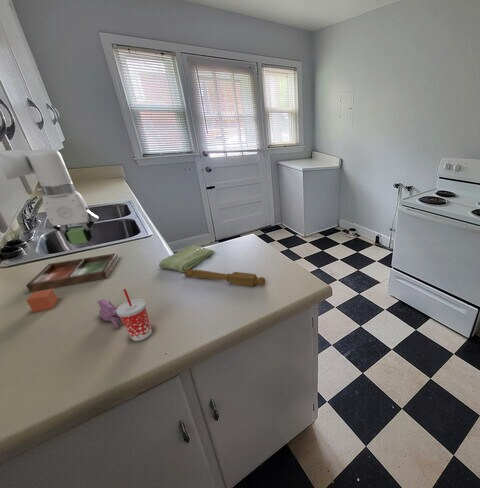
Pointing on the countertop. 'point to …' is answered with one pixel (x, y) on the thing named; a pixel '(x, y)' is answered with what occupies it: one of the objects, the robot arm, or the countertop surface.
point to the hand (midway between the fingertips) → (81, 240)
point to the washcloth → (186, 258)
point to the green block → (77, 236)
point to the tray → (73, 272)
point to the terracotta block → (42, 300)
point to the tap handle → (227, 277)
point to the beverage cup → (135, 318)
